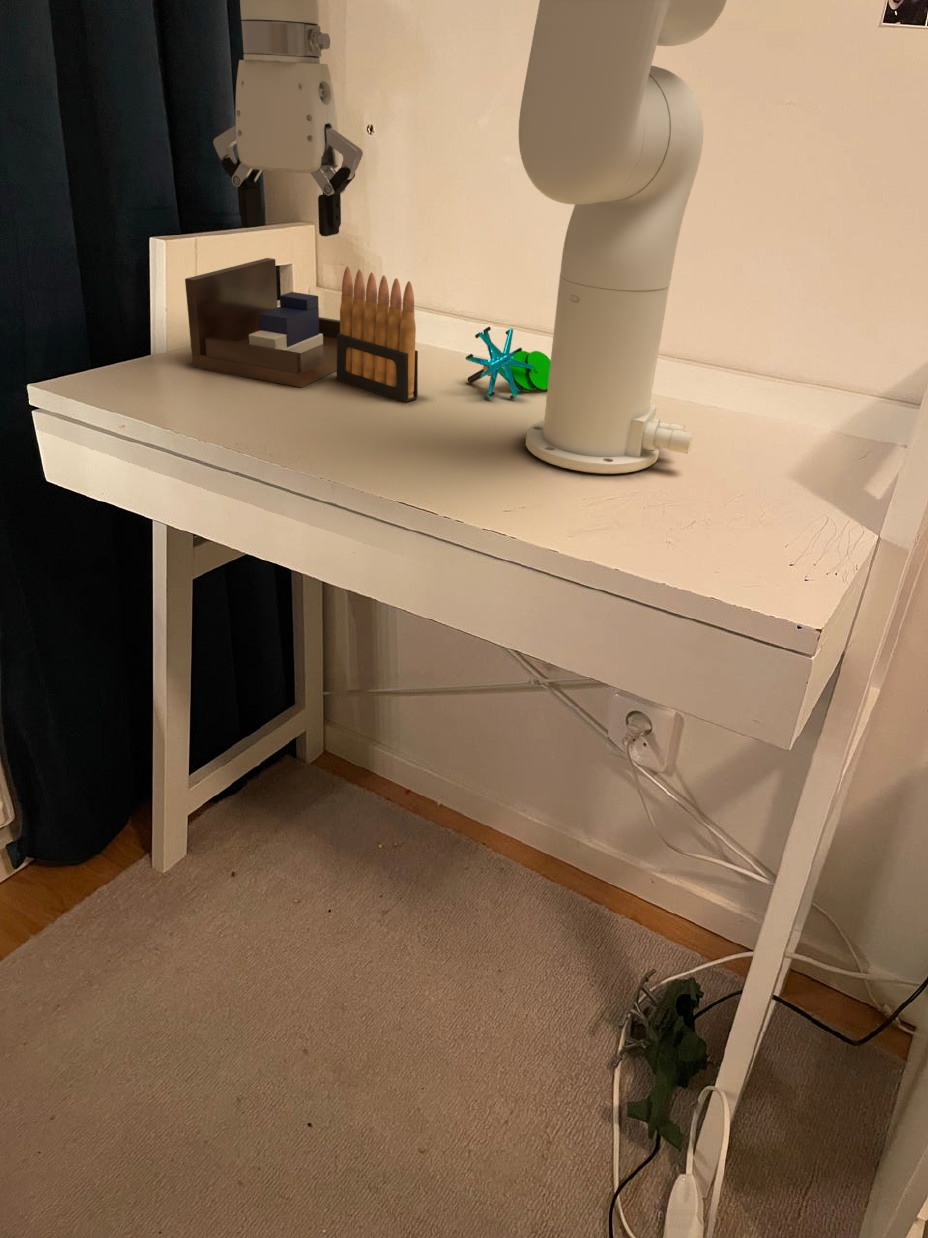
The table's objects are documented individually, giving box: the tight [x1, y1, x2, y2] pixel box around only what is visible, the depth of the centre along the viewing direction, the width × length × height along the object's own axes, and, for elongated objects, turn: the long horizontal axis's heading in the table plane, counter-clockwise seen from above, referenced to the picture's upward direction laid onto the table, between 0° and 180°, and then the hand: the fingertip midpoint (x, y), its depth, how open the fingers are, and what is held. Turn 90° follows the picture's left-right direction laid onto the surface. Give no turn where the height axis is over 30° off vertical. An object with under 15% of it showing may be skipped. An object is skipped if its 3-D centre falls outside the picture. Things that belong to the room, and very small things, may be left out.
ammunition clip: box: [335, 266, 419, 403], centre depth 98 cm, size 11×2×12 cm, turn 50°
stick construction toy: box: [465, 326, 551, 400], centre depth 104 cm, size 12×7×8 cm
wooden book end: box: [184, 257, 340, 388], centre depth 106 cm, size 16×14×10 cm
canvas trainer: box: [249, 291, 323, 353], centre depth 105 cm, size 10×4×6 cm, turn 158°
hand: (290, 230), depth 101 cm, fingers open, 9 cm apart
